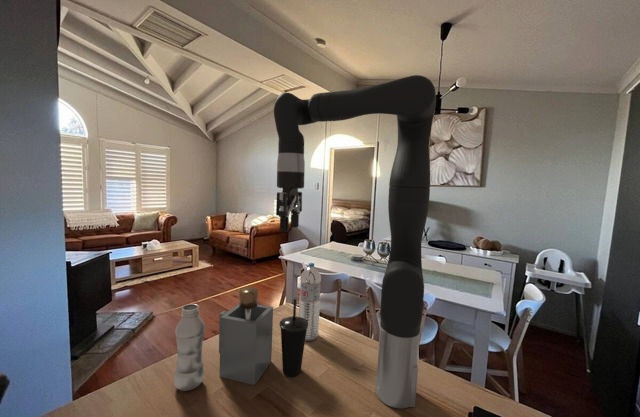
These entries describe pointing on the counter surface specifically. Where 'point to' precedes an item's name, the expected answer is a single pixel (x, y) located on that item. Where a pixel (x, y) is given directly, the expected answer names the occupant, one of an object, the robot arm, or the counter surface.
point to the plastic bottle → (189, 349)
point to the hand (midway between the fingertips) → (289, 229)
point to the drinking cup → (293, 343)
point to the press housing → (245, 343)
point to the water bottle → (310, 300)
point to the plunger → (248, 300)
